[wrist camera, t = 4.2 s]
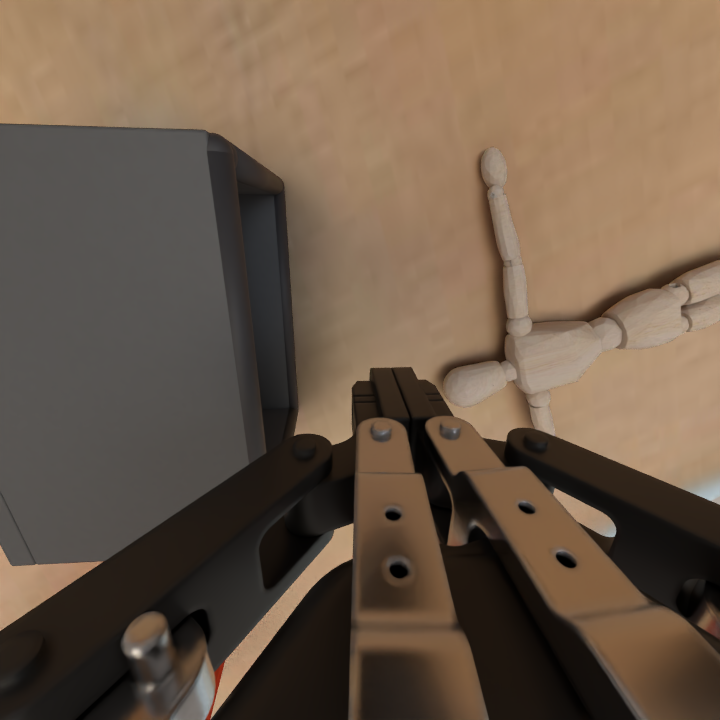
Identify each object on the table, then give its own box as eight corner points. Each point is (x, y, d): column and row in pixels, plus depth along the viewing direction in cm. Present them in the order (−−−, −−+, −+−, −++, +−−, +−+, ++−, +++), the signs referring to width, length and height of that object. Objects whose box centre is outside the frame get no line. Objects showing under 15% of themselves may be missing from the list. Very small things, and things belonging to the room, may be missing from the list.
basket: (88, 172, 20) (-232, 115, 8) (284, 177, 20) (225, 130, 9) (150, 416, 26) (10, 566, 15) (299, 412, 26) (274, 553, 15)
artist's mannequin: (883, -23, 19) (374, 198, 22) (1026, -88, 15) (379, 193, 18) (827, 392, 29) (478, 502, 32) (904, 419, 25) (497, 542, 28)
